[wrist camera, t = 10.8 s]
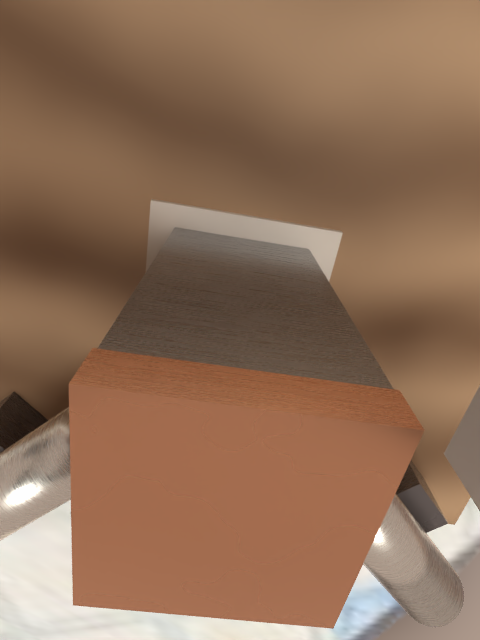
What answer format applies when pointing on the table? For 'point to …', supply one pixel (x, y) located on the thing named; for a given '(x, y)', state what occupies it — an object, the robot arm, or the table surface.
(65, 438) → the shaft
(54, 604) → the table surface
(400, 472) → the block
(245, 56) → the cradle board
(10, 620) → the table surface
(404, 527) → the shaft
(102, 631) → the table surface
